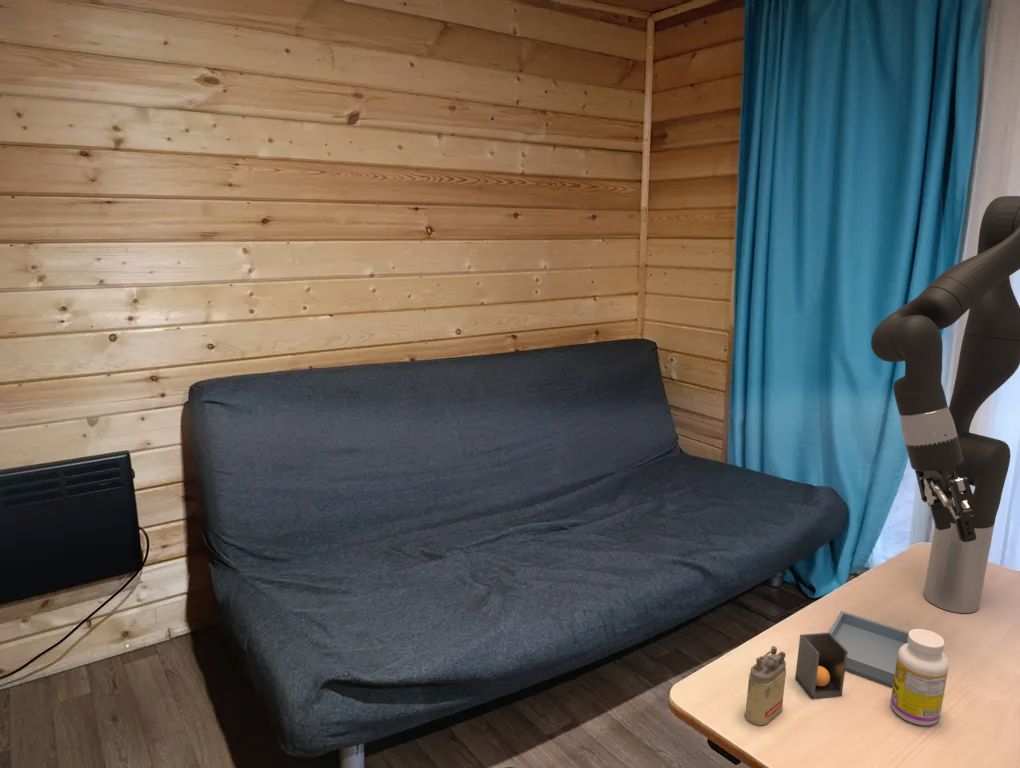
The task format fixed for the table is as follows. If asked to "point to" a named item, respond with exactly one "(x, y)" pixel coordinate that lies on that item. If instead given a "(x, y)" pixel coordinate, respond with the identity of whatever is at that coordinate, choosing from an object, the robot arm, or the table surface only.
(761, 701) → the lighter
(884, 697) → the table surface
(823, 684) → the ball
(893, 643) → the tray
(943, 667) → the supplement bottle
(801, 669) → the open box
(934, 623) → the table surface
